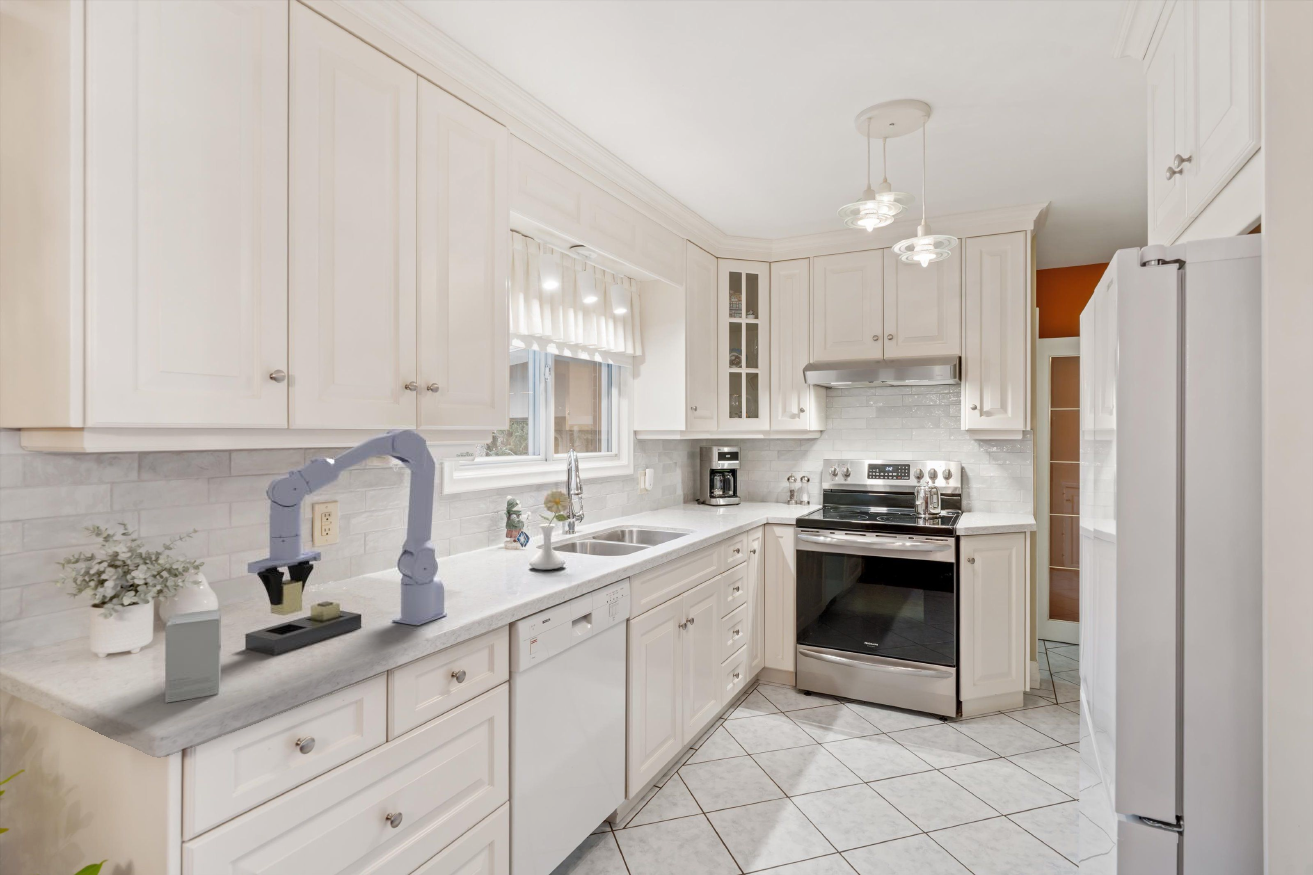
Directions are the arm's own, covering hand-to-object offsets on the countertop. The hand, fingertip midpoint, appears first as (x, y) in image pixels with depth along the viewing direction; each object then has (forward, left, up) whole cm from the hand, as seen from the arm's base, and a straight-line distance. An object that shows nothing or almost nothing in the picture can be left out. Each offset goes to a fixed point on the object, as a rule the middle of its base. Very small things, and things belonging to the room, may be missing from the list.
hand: (286, 601), depth 133 cm
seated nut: (-9, 0, -9) cm, 13 cm away
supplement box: (+22, +9, -9) cm, 26 cm away
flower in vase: (-85, +6, -9) cm, 85 cm away
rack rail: (-5, 0, -9) cm, 10 cm away
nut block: (0, 0, -2) cm, 2 cm away
